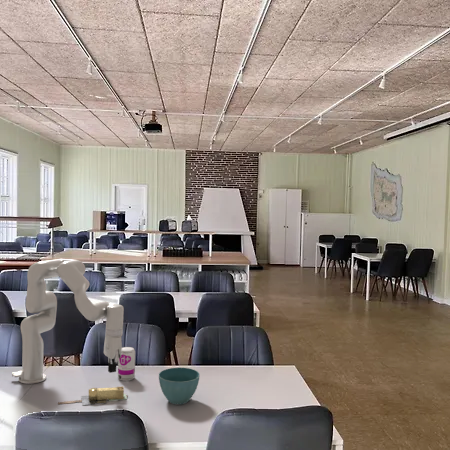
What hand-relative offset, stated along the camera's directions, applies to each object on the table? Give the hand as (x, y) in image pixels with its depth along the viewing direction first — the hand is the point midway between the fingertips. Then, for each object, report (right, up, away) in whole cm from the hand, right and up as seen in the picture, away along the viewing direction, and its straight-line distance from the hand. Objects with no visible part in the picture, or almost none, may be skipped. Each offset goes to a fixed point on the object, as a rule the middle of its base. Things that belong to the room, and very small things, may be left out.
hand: (112, 371), depth 224 cm
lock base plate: (-7, -11, -5) cm, 14 cm away
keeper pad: (+3, -11, -1) cm, 12 cm away
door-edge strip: (-7, -11, -5) cm, 14 cm away
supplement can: (+2, -10, +23) cm, 25 cm away
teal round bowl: (+30, -13, -3) cm, 33 cm away
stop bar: (-2, -11, -4) cm, 11 cm away
